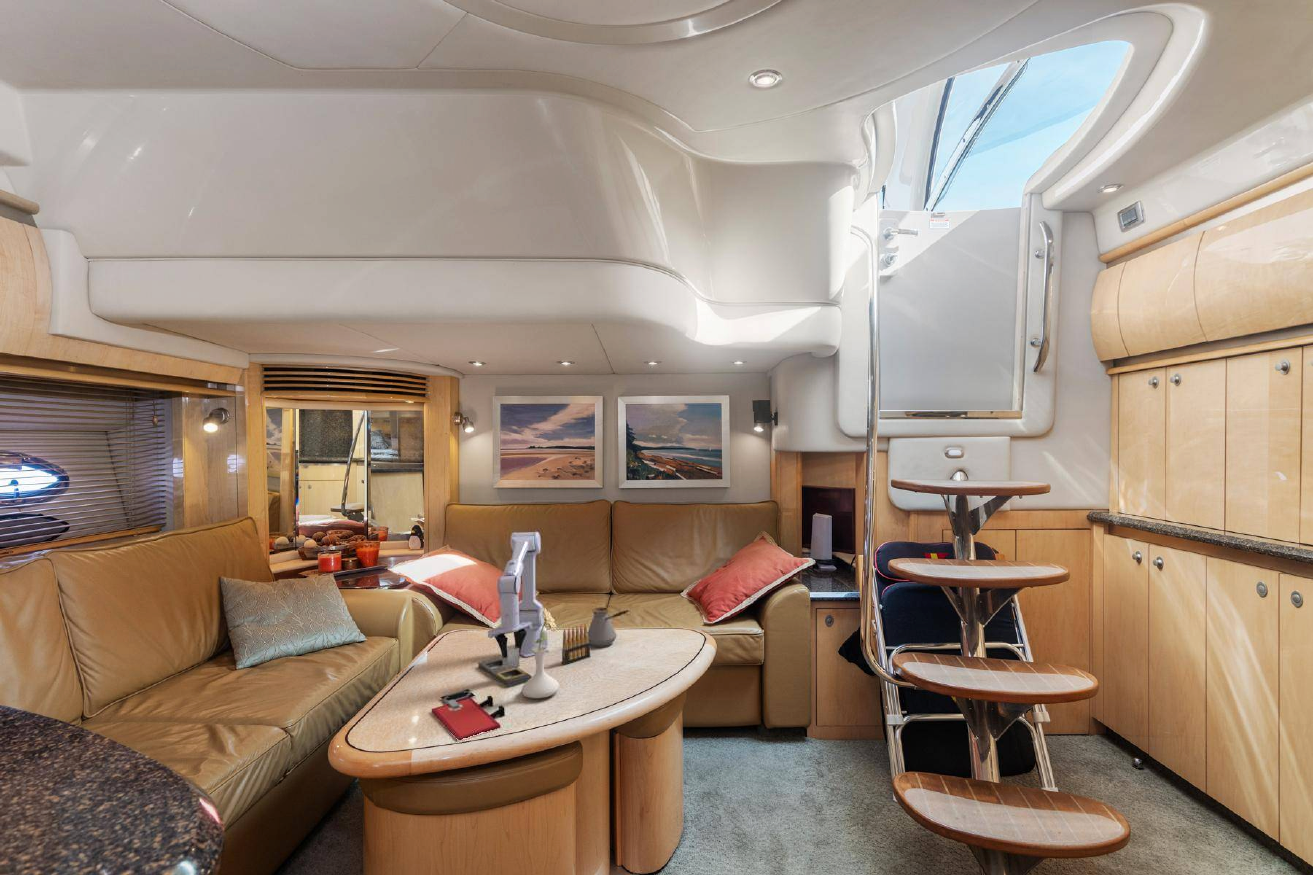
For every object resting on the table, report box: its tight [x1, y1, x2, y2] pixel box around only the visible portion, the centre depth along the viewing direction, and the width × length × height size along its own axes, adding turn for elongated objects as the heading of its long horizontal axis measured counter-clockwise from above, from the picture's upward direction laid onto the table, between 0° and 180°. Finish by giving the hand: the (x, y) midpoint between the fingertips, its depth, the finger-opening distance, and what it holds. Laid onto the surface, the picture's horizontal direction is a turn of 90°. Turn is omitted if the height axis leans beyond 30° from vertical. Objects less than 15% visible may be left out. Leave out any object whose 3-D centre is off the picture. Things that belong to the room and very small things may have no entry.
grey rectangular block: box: [501, 644, 520, 669], centre depth 194 cm, size 4×4×6 cm
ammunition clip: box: [561, 622, 591, 666], centre depth 209 cm, size 11×2×12 cm, turn 133°
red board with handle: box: [431, 688, 506, 740], centre depth 170 cm, size 30×3×15 cm
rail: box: [477, 656, 533, 689], centre depth 199 cm, size 8×24×2 cm, turn 38°
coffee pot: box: [587, 606, 632, 648], centre depth 223 cm, size 21×12×15 cm, turn 47°
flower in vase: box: [521, 607, 561, 699], centre depth 182 cm, size 13×11×25 cm
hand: (511, 655), depth 194 cm, fingers closed on grey rectangular block, 4 cm apart
